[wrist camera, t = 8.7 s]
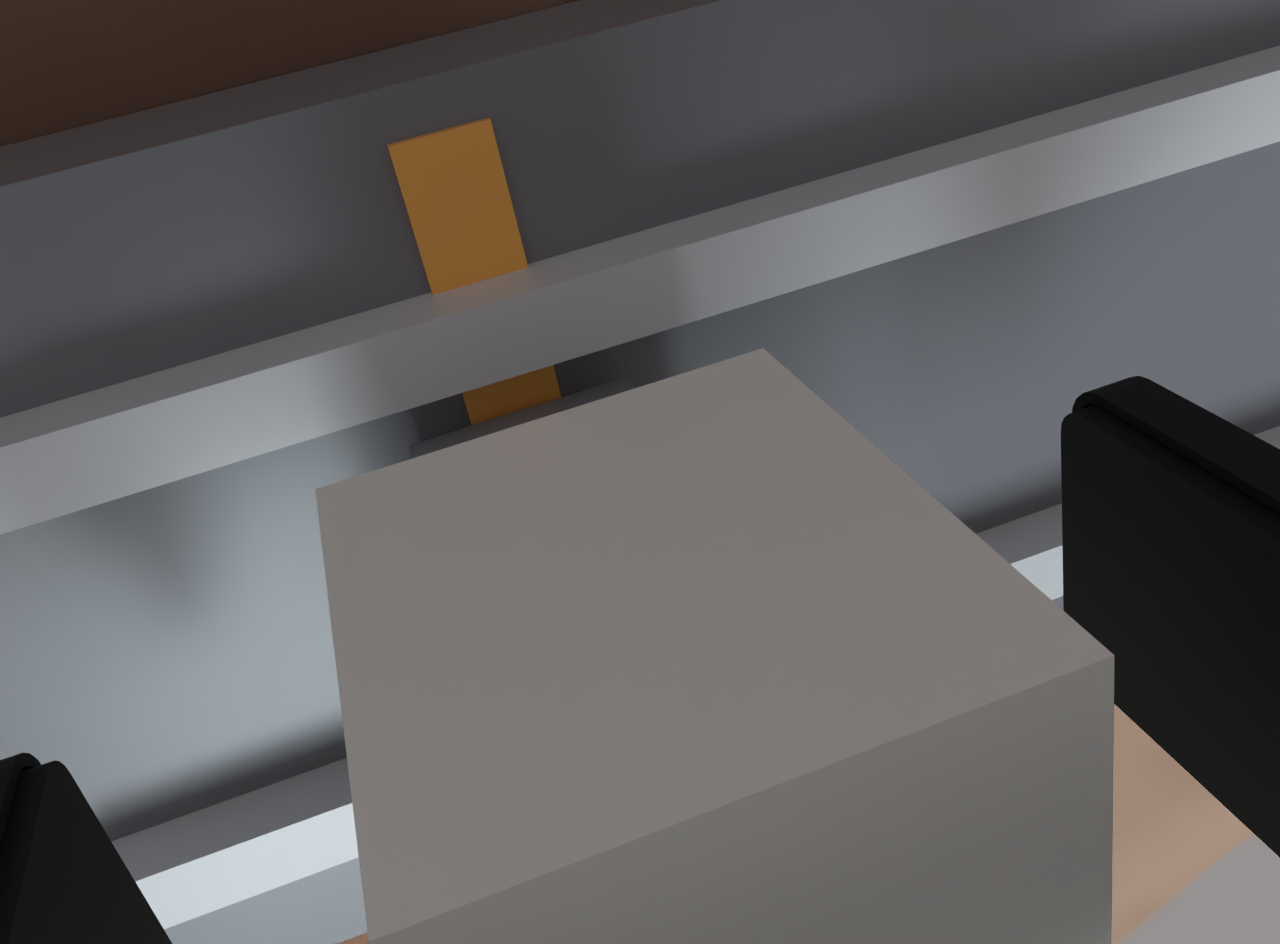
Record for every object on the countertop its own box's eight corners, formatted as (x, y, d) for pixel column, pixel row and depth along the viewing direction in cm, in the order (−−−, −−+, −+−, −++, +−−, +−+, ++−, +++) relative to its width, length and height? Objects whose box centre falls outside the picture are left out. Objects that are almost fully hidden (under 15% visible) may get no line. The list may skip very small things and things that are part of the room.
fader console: (1781, -305, 16) (2105, -347, 13) (1622, 342, 21) (1835, 411, 18) (-386, 243, 12) (-591, 357, 9) (54, 910, 16) (15, 1121, 14)
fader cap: (682, 276, 12) (1113, 655, 6) (751, 650, 14) (1107, 1180, 9) (303, 390, 11) (369, 942, 5) (443, 760, 14) (594, 1422, 8)
